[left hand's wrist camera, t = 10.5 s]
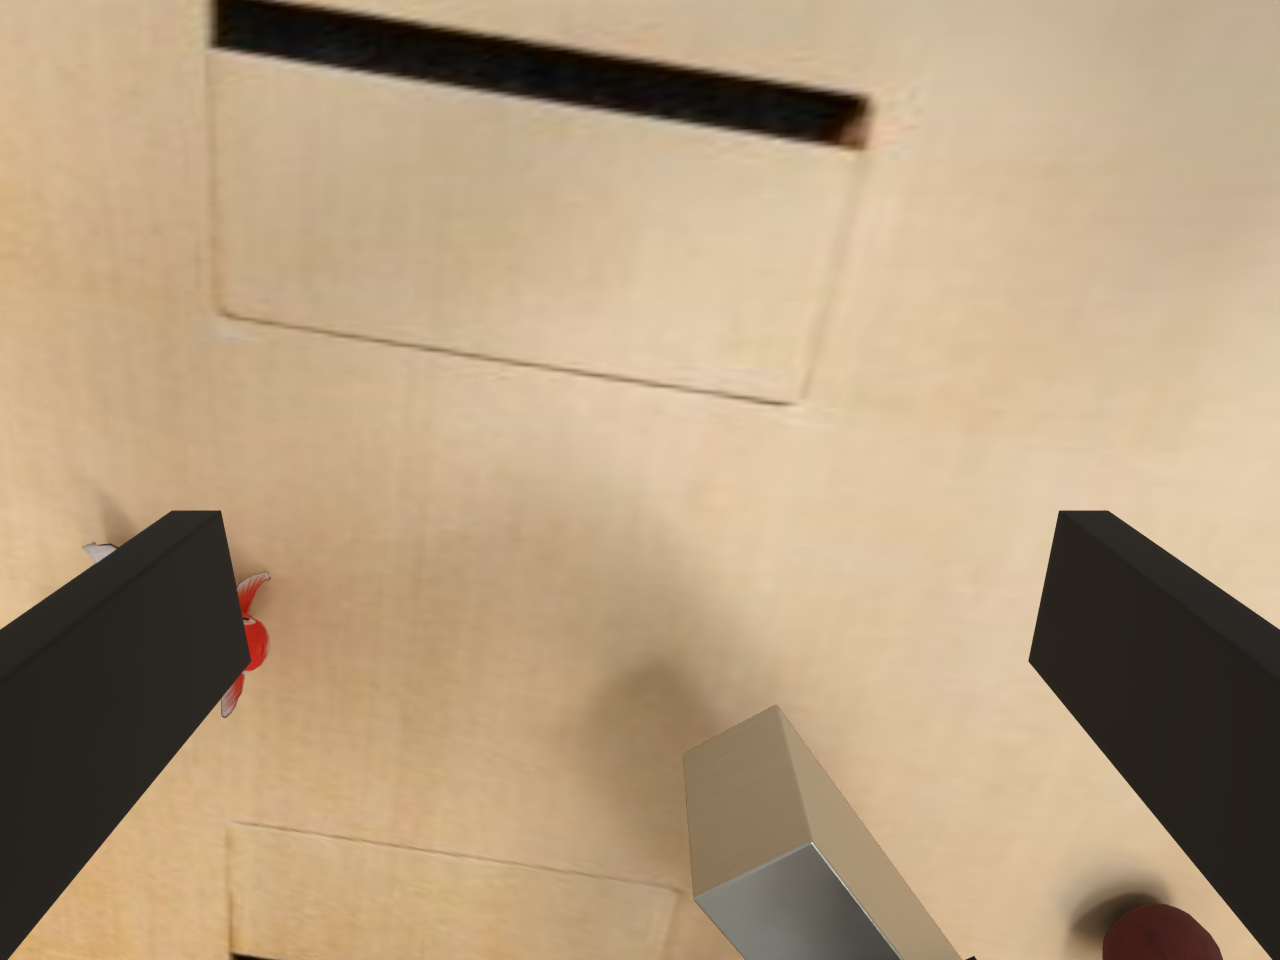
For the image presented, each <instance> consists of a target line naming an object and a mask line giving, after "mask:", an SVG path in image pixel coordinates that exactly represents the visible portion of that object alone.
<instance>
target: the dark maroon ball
mask: <svg viewBox="0 0 1280 960" xmlns="http://www.w3.org/2000/svg"><path fill="white" fill-rule="evenodd" d="M1102 958H1103V960H1223V958H1222V955H1221V952H1220V949H1219V947H1218V945H1217V944H1216V942H1215V941H1214V939H1213V938H1212V936H1211V935H1210V934H1209V933H1208V932H1207V931H1206V930H1205V929H1204V928H1203V927H1202V926H1201V925H1200V924H1199V923H1198V922H1197V921H1196V920H1195V919H1194V918H1193V917H1192V916H1191V915H1189V914H1188V913H1186V912H1184V911H1182V910H1180V909H1178V908H1175V907H1172V906H1169V905H1165V904H1144V905H1141V906H1137V907H1135V908H1132V909H1130V910H1128V911H1125V912H1124V914H1123V915H1122V916H1121V917H1120V918H1119V919H1118V920H1117V921H1115V922H1114V923H1113V924H1112V925H1111V926H1110V927H1109V928H1108V930H1107V933H1106V935H1105V937H1104V942H1103V957H1102Z"/></svg>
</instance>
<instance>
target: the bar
mask: <svg viewBox="0 0 1280 960" xmlns="http://www.w3.org/2000/svg"><path fill="white" fill-rule="evenodd" d="M683 764H684V777H685V790H686V804H687V817H688V830H689V843H690V857H691V870H692V883H693V897H694V901H695V902H696V903H697V904H698V905H699V906H700V908H701V909H702V910H703V911H704V912H705V913H706V915H707V916H708V917H709V918H710V919H711V920H712V922H713V923H714V924H715V925H716V926H717V927H718V929H719V930H720V931H721V932H722V933H723V934H724V935H725V937H726V938H727V939H728V940H729V941H730V942H731V944H732V945H733V946H734V947H735V948H736V949H737V951H738V952H739V953H740V954H741V955H742V956H743V958H744V959H745V960H962V959H961V957H960V956H959V955H958V953H957V952H956V951H955V949H954V948H953V946H952V945H951V944H950V942H949V941H948V939H947V938H946V937H945V935H944V934H943V933H942V931H941V930H940V928H939V927H938V926H937V924H936V923H935V922H934V920H933V919H932V917H931V916H930V915H929V913H928V912H927V911H926V909H925V908H924V906H923V905H922V904H921V902H920V901H919V900H918V898H917V897H916V895H915V894H914V893H913V891H912V890H911V889H910V887H909V886H908V884H907V883H906V882H905V880H904V879H903V877H902V876H901V875H900V873H899V872H898V871H897V869H896V868H895V866H894V865H893V864H892V862H891V861H890V860H889V858H888V857H887V855H886V854H885V853H884V851H883V850H882V849H881V847H880V846H879V844H878V843H877V842H876V840H875V839H874V838H873V836H872V835H871V833H870V832H869V831H868V829H867V828H866V826H865V825H864V824H863V822H862V821H861V820H860V818H859V817H858V815H857V814H856V813H855V811H854V810H853V809H852V807H851V806H850V804H849V803H848V802H847V800H846V799H845V798H844V796H843V795H842V793H841V792H840V791H839V789H838V788H837V787H836V785H835V784H834V782H833V781H832V780H831V778H830V777H829V776H828V774H827V773H826V771H825V770H824V769H823V767H822V766H821V764H820V763H819V762H818V760H817V759H816V758H815V756H814V755H813V753H812V752H811V751H810V749H809V748H808V747H807V745H806V744H805V742H804V741H803V740H802V738H801V737H800V736H799V734H798V733H797V731H796V730H795V729H794V727H793V726H792V725H791V723H790V722H789V720H788V719H787V718H786V716H785V715H784V713H783V712H782V711H781V709H780V708H779V707H778V705H774V706H772V707H770V708H768V709H766V710H764V711H762V712H761V713H759V714H757V715H755V716H753V717H751V718H749V719H748V720H746V721H744V722H742V723H740V724H738V725H736V726H734V727H733V728H731V729H729V730H727V731H725V732H723V733H721V734H720V735H718V736H716V737H714V738H712V739H710V740H708V741H706V742H705V743H703V744H701V745H699V746H697V747H695V748H693V749H691V750H690V751H688V752H686V753H684V754H683Z"/></svg>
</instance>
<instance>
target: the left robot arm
mask: <svg viewBox="0 0 1280 960" xmlns="http://www.w3.org/2000/svg"><path fill="white" fill-rule="evenodd" d="M250 663H251V656H250V651H249V646H248V641H247V636H246V631H245V626H244V622H243V617H242V612H241V607H240V602H239V597H238V592H237V587H236V582H235V577H234V572H233V568H232V563H231V558H230V553H229V548H228V543H227V538H226V533H225V528H224V523H223V519H222V514H221V511H171V512H169V513H168V514H166V515H165V516H164V517H162V518H161V519H159V520H158V521H156V522H155V523H153V524H152V525H151V526H149V527H148V528H146V529H145V530H143V531H142V532H140V533H139V534H138V535H136V536H135V537H133V538H132V539H130V540H129V541H128V542H126V543H125V544H123V545H122V546H120V547H119V548H117V549H116V550H115V551H113V552H112V553H110V554H109V555H107V556H106V557H104V558H103V559H102V560H100V561H99V562H97V563H96V564H94V565H93V566H91V567H90V568H89V569H87V570H86V571H84V572H83V573H81V574H80V575H78V576H77V577H76V578H74V579H73V580H71V581H70V582H68V583H67V584H66V585H64V586H63V587H61V588H60V589H58V590H57V591H55V592H54V593H53V594H51V595H50V596H48V597H47V598H45V599H44V600H42V601H41V602H40V603H38V604H37V605H35V606H34V607H32V608H31V609H29V610H28V611H27V612H25V613H24V614H22V615H21V616H19V617H18V618H16V619H15V620H14V621H12V622H11V623H9V624H8V625H6V626H5V627H4V628H2V629H1V630H0V960H8V959H9V957H10V956H11V955H12V954H13V952H14V951H15V950H16V949H17V948H18V946H19V945H20V944H21V943H22V941H23V940H24V939H25V938H26V937H27V935H28V934H29V933H30V932H31V930H32V929H33V928H34V927H35V926H36V924H37V923H38V922H39V921H40V919H41V918H42V917H43V916H44V914H45V913H46V912H47V911H48V910H49V908H50V907H51V906H52V905H53V903H54V902H55V901H56V900H57V899H58V897H59V896H60V895H61V894H62V892H63V891H64V890H65V889H66V888H67V886H68V885H69V884H70V883H71V881H72V880H73V879H74V878H75V877H76V875H77V874H78V873H79V872H80V870H81V869H82V868H83V867H84V866H85V864H86V863H87V862H88V861H89V859H90V858H91V857H92V856H93V855H94V853H95V852H96V851H97V850H98V848H99V847H100V846H101V845H102V844H103V842H104V841H105V840H106V839H107V837H108V836H109V835H110V834H111V833H112V831H113V830H114V829H115V828H116V826H117V825H118V824H119V823H120V822H121V820H122V819H123V818H124V817H125V815H126V814H127V813H128V812H129V811H130V809H131V808H132V807H133V806H134V804H135V803H136V802H137V801H138V800H139V798H140V797H141V796H142V795H143V793H144V792H145V791H146V790H147V789H148V787H149V786H150V785H151V784H152V782H153V781H154V780H155V779H156V777H157V776H158V775H159V774H160V773H161V771H162V770H163V769H164V768H165V766H166V765H167V764H168V763H169V762H170V760H171V759H172V758H173V757H174V755H175V754H176V753H177V752H178V751H179V749H180V748H181V747H182V746H183V744H184V743H185V742H186V741H187V740H188V738H189V737H190V736H191V735H192V733H193V732H194V731H195V730H196V729H197V727H198V726H199V725H200V724H201V722H202V721H203V720H204V719H205V718H206V716H207V715H208V714H209V713H210V711H211V710H212V709H213V708H214V707H215V705H216V704H217V703H218V702H219V700H220V699H221V698H222V697H223V696H224V694H225V693H226V692H227V691H228V689H229V688H230V687H231V686H232V685H233V683H234V682H235V681H236V680H237V678H238V677H239V676H240V675H241V674H242V672H243V671H244V670H245V669H246V667H247V666H248V665H249V664H250ZM1029 663H1030V664H1031V665H1032V666H1033V667H1034V669H1035V670H1036V671H1037V672H1038V674H1039V675H1040V676H1041V677H1042V678H1043V680H1044V681H1045V682H1046V683H1047V685H1048V686H1049V687H1050V688H1051V689H1052V691H1053V692H1054V693H1055V694H1056V696H1057V697H1058V698H1059V699H1060V700H1061V702H1062V703H1063V704H1064V705H1065V707H1066V708H1067V709H1068V710H1069V711H1070V713H1071V714H1072V715H1073V716H1074V718H1075V719H1076V720H1077V721H1078V722H1079V724H1080V725H1081V726H1082V727H1083V729H1084V730H1085V731H1086V732H1087V733H1088V735H1089V736H1090V737H1091V738H1092V740H1093V741H1094V742H1095V743H1096V744H1097V746H1098V747H1099V748H1100V749H1101V751H1102V752H1103V753H1104V754H1105V755H1106V757H1107V758H1108V759H1109V760H1110V762H1111V763H1112V764H1113V765H1114V766H1115V768H1116V769H1117V770H1118V771H1119V773H1120V774H1121V775H1122V776H1123V777H1124V779H1125V780H1126V781H1127V782H1128V784H1129V785H1130V786H1131V787H1132V789H1133V790H1134V791H1135V792H1136V793H1137V795H1138V796H1139V797H1140V798H1141V800H1142V801H1143V802H1144V803H1145V804H1146V806H1147V807H1148V808H1149V809H1150V811H1151V812H1152V813H1153V814H1154V815H1155V817H1156V818H1157V819H1158V820H1159V822H1160V823H1161V824H1162V825H1163V826H1164V828H1165V829H1166V830H1167V831H1168V833H1169V834H1170V835H1171V836H1172V837H1173V839H1174V840H1175V841H1176V842H1177V844H1178V845H1179V846H1180V847H1181V848H1182V850H1183V851H1184V852H1185V853H1186V855H1187V856H1188V857H1189V858H1190V859H1191V861H1192V862H1193V863H1194V864H1195V866H1196V867H1197V868H1198V869H1199V870H1200V872H1201V873H1202V874H1203V875H1204V877H1205V878H1206V879H1207V880H1208V881H1209V883H1210V884H1211V885H1212V886H1213V888H1214V889H1215V890H1216V891H1217V892H1218V894H1219V895H1220V896H1221V897H1222V899H1223V900H1224V901H1225V902H1226V903H1227V905H1228V906H1229V907H1230V908H1231V910H1232V911H1233V912H1234V913H1235V914H1236V916H1237V917H1238V918H1239V919H1240V921H1241V922H1242V923H1243V924H1244V926H1245V927H1246V928H1247V929H1248V930H1249V932H1250V933H1251V934H1252V935H1253V937H1254V938H1255V939H1256V940H1257V941H1258V943H1259V944H1260V945H1261V946H1262V948H1263V949H1264V950H1265V951H1266V952H1267V954H1268V955H1269V956H1270V957H1271V959H1272V960H1280V630H1279V629H1278V628H1276V627H1275V626H1274V625H1272V624H1271V623H1269V622H1268V621H1266V620H1265V619H1264V618H1262V617H1261V616H1259V615H1258V614H1256V613H1255V612H1253V611H1252V610H1251V609H1249V608H1248V607H1246V606H1245V605H1243V604H1242V603H1240V602H1239V601H1238V600H1236V599H1235V598H1233V597H1232V596H1230V595H1229V594H1227V593H1226V592H1225V591H1223V590H1222V589H1220V588H1219V587H1217V586H1216V585H1214V584H1213V583H1212V582H1210V581H1209V580H1207V579H1206V578H1204V577H1203V576H1202V575H1200V574H1199V573H1197V572H1196V571H1194V570H1193V569H1191V568H1190V567H1189V566H1187V565H1186V564H1184V563H1183V562H1181V561H1180V560H1178V559H1177V558H1176V557H1174V556H1173V555H1171V554H1170V553H1168V552H1167V551H1165V550H1164V549H1163V548H1161V547H1160V546H1158V545H1157V544H1155V543H1154V542H1152V541H1151V540H1150V539H1148V538H1147V537H1145V536H1144V535H1142V534H1141V533H1140V532H1138V531H1137V530H1135V529H1134V528H1132V527H1131V526H1129V525H1128V524H1127V523H1125V522H1124V521H1122V520H1121V519H1119V518H1118V517H1116V516H1115V515H1114V514H1112V513H1111V512H1109V511H1059V514H1058V519H1057V523H1056V528H1055V533H1054V538H1053V543H1052V548H1051V553H1050V558H1049V563H1048V568H1047V572H1046V577H1045V582H1044V587H1043V592H1042V597H1041V602H1040V607H1039V612H1038V617H1037V622H1036V626H1035V631H1034V636H1033V641H1032V646H1031V651H1030V656H1029Z"/></svg>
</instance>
